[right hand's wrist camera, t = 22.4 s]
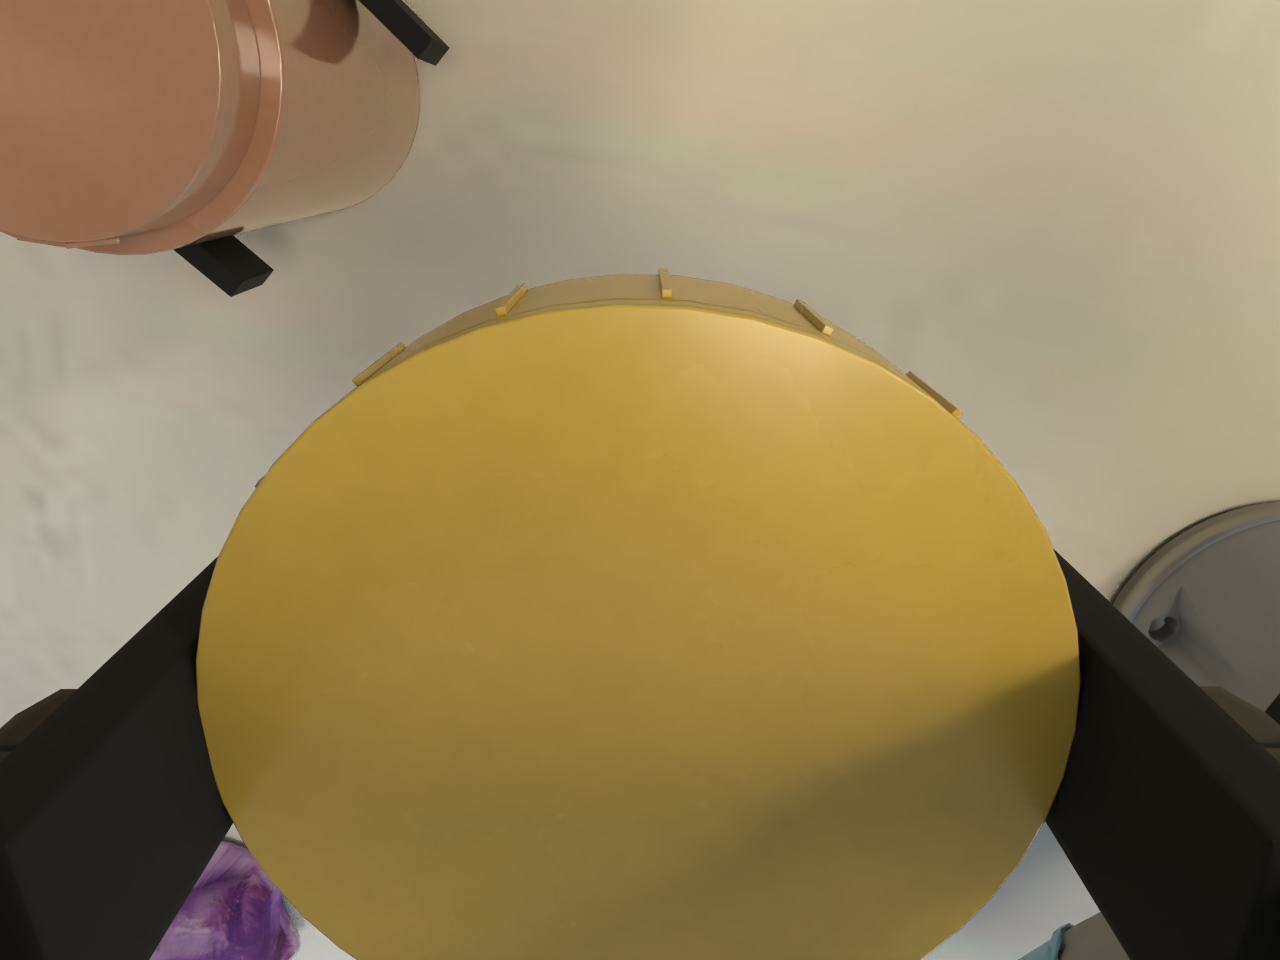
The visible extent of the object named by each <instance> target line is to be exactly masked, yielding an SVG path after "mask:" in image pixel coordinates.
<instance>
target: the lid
mask: <svg viewBox="0 0 1280 960" xmlns="http://www.w3.org/2000/svg"><path fill="white" fill-rule="evenodd" d="M352 381H353V382H354V383H355V384H356V386H357V387H356V388H355V389H353V390H352V391H351V392H350V393H348V394H347V395H346V396H345V397H343V398H342V399H341V400H340V401H338V402H337V403H336V404H335V405H333V406H332V407H331V408H330V409H328V410H327V411H326V412H325V413H324V414H322V415H321V416H320V417H319V418H317V419H316V420H315V421H314V422H313V423H312V424H311V425H310V426H309V427H308V428H307V429H306V430H305V431H304V432H303V433H302V434H301V435H300V436H299V437H298V438H297V439H296V440H295V442H294V443H293V444H292V445H291V446H290V447H289V448H288V449H287V450H286V451H285V452H284V453H283V454H282V455H281V456H280V457H279V458H278V459H277V460H276V461H275V462H274V464H273V465H272V466H271V468H270V469H269V470H268V472H267V473H266V475H265V476H263V477H262V478H261V479H260V480H259V481H258V482H257V484H256V486H255V488H256V489H255V491H254V492H253V493H252V495H251V496H250V498H249V499H248V501H247V502H246V504H245V505H244V506H243V508H242V509H241V511H240V513H239V515H238V517H237V519H236V521H235V523H234V525H233V527H232V529H231V532H230V534H229V536H228V538H227V540H226V542H225V544H224V546H223V548H222V550H221V552H220V554H219V557H218V559H217V561H216V565H215V568H214V572H213V575H212V578H211V582H210V585H209V588H208V592H207V595H206V599H205V602H204V605H203V609H202V616H201V624H200V632H199V640H198V648H197V656H196V679H197V700H198V706H199V711H200V716H201V721H202V725H203V730H204V734H205V739H206V743H207V748H208V752H209V757H210V761H211V765H212V769H213V773H214V777H215V781H216V785H217V788H218V790H219V793H220V796H221V799H222V802H223V804H224V806H225V808H226V809H227V811H228V813H229V815H230V817H231V819H232V821H233V823H234V825H235V827H236V829H237V830H238V832H239V834H240V836H241V838H242V840H243V842H244V844H245V845H246V847H247V848H248V849H249V851H250V852H251V854H252V855H253V857H254V858H255V859H256V861H257V862H258V864H259V865H260V866H261V868H262V869H263V871H264V872H265V874H266V875H267V876H268V878H269V879H270V881H271V882H272V883H273V884H274V885H275V886H276V887H277V889H278V890H279V891H280V892H281V893H282V894H283V895H284V896H285V897H286V898H287V900H288V901H289V902H290V903H291V904H292V905H293V906H294V907H295V908H296V909H297V910H298V912H299V913H300V914H301V915H302V916H303V917H304V918H305V919H306V920H308V921H309V922H310V923H311V924H312V925H313V926H315V927H316V928H317V929H318V930H319V931H320V932H322V933H323V934H324V935H325V936H326V937H327V938H329V939H330V940H331V941H332V942H333V943H334V944H335V945H337V946H338V947H339V948H340V949H342V950H343V951H345V952H346V953H348V954H349V955H351V956H352V957H354V958H355V959H356V960H922V959H923V958H924V957H926V956H927V955H928V954H929V953H931V952H932V951H933V950H934V949H936V948H937V947H938V946H940V945H941V944H942V943H943V942H945V941H946V940H947V939H948V938H950V937H951V936H952V935H954V934H955V933H956V932H957V931H959V930H960V929H961V928H962V927H963V926H964V925H965V924H966V923H967V922H968V921H969V920H970V919H971V918H972V917H973V916H974V915H975V914H976V913H977V912H978V911H979V910H980V909H981V908H982V907H983V906H984V905H985V904H986V903H987V902H988V901H989V900H990V899H991V898H992V897H993V896H994V895H995V893H996V892H997V891H998V889H999V888H1000V887H1001V886H1002V884H1003V883H1004V882H1005V881H1006V879H1007V878H1008V877H1009V875H1010V874H1011V873H1012V872H1013V870H1014V869H1015V868H1016V867H1017V865H1018V864H1019V863H1020V861H1021V860H1022V859H1023V857H1024V855H1025V854H1026V852H1027V850H1028V848H1029V847H1030V845H1031V843H1032V842H1033V840H1034V838H1035V837H1036V835H1037V833H1038V832H1039V830H1040V828H1041V827H1042V825H1043V823H1044V822H1045V820H1046V818H1047V815H1048V813H1049V810H1050V808H1051V806H1052V803H1053V801H1054V799H1055V796H1056V794H1057V791H1058V789H1059V787H1060V784H1061V782H1062V779H1063V777H1064V774H1065V770H1066V766H1067V762H1068V758H1069V754H1070V750H1071V746H1072V743H1073V739H1074V735H1075V730H1076V723H1077V712H1078V702H1079V692H1080V665H1079V649H1078V633H1077V627H1076V622H1075V618H1074V613H1073V609H1072V605H1071V600H1070V596H1069V591H1068V587H1067V583H1066V579H1065V576H1064V574H1063V572H1062V569H1061V567H1060V564H1059V562H1058V559H1057V557H1056V554H1055V552H1054V549H1053V547H1052V544H1051V542H1050V540H1049V537H1048V535H1047V532H1046V530H1045V528H1044V527H1043V525H1042V523H1041V522H1040V520H1039V518H1038V517H1037V515H1036V513H1035V512H1034V510H1033V508H1032V507H1031V505H1030V504H1029V502H1028V500H1027V499H1026V497H1025V495H1024V494H1023V492H1022V490H1021V489H1020V487H1019V485H1018V484H1017V482H1016V481H1015V480H1014V479H1013V478H1012V476H1011V475H1010V474H1009V473H1008V472H1007V470H1006V469H1005V468H1004V467H1003V466H1002V465H1001V463H1000V462H999V461H998V460H997V459H996V457H995V456H994V455H993V454H992V453H991V452H990V450H989V449H988V448H987V447H986V446H985V444H984V443H983V442H982V441H981V440H980V439H979V438H978V437H977V436H976V435H975V434H974V433H973V432H972V431H970V430H969V429H968V428H967V427H966V426H965V425H964V424H962V423H961V422H960V421H959V420H958V419H959V418H960V417H961V416H962V415H963V414H962V413H961V412H960V411H959V410H958V409H957V408H956V407H955V406H953V405H952V404H951V403H950V402H948V401H947V400H946V399H945V398H943V397H942V396H941V395H940V394H938V393H937V392H936V391H934V390H933V389H932V388H931V387H929V386H928V385H927V384H926V383H924V382H923V381H922V380H921V379H919V378H918V377H917V376H916V375H914V374H913V373H912V372H908V373H907V374H906V375H905V374H903V373H902V372H901V371H900V370H898V369H897V368H896V367H895V366H894V365H892V364H891V363H890V362H889V361H887V360H886V359H885V358H884V357H883V356H881V355H880V354H879V353H878V352H876V351H875V350H874V349H872V348H871V347H869V346H867V345H866V344H864V343H863V342H861V341H860V340H858V339H857V338H855V337H854V336H852V335H850V334H849V333H847V332H846V331H844V330H843V329H841V328H840V327H838V326H836V325H835V324H833V323H832V322H830V321H827V320H825V319H823V318H821V317H820V316H819V315H818V314H817V313H816V312H815V311H813V310H812V309H811V308H810V307H809V306H808V305H807V304H806V303H804V302H802V301H800V300H798V299H797V300H796V302H795V304H794V305H793V304H791V303H789V302H786V301H784V300H781V299H778V298H775V297H771V296H768V295H765V294H762V293H758V292H755V291H752V290H749V289H745V288H742V287H739V286H735V285H732V284H727V283H720V282H714V281H708V280H702V279H696V278H690V277H683V276H677V275H669V274H668V270H667V269H659V272H658V275H641V274H617V275H607V276H598V277H589V278H579V279H570V280H564V281H560V282H556V283H552V284H548V285H544V286H540V287H536V288H531V289H527V287H526V284H521V285H518V286H517V287H516V288H515V289H514V290H513V291H512V292H511V293H510V294H509V295H507V296H504V297H502V298H499V299H497V300H494V301H492V302H489V303H487V304H484V305H482V306H479V307H477V308H474V309H472V310H469V311H467V312H464V313H462V314H460V315H459V316H457V317H455V318H453V319H452V320H450V321H448V322H446V323H445V324H443V325H441V326H439V327H438V328H436V329H434V330H432V331H431V332H429V333H427V334H425V335H423V336H422V337H420V338H418V339H417V340H416V341H414V342H413V343H412V344H410V345H409V346H408V347H405V346H404V344H403V343H400V344H398V345H397V346H396V347H394V348H393V349H392V350H391V351H389V352H388V353H387V354H385V355H384V356H383V357H381V358H380V359H379V360H378V361H376V362H375V363H374V364H372V365H371V366H370V367H368V368H367V369H366V370H365V371H363V372H362V373H361V374H359V375H358V376H357V377H355V378H354V379H353V380H352Z"/></svg>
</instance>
